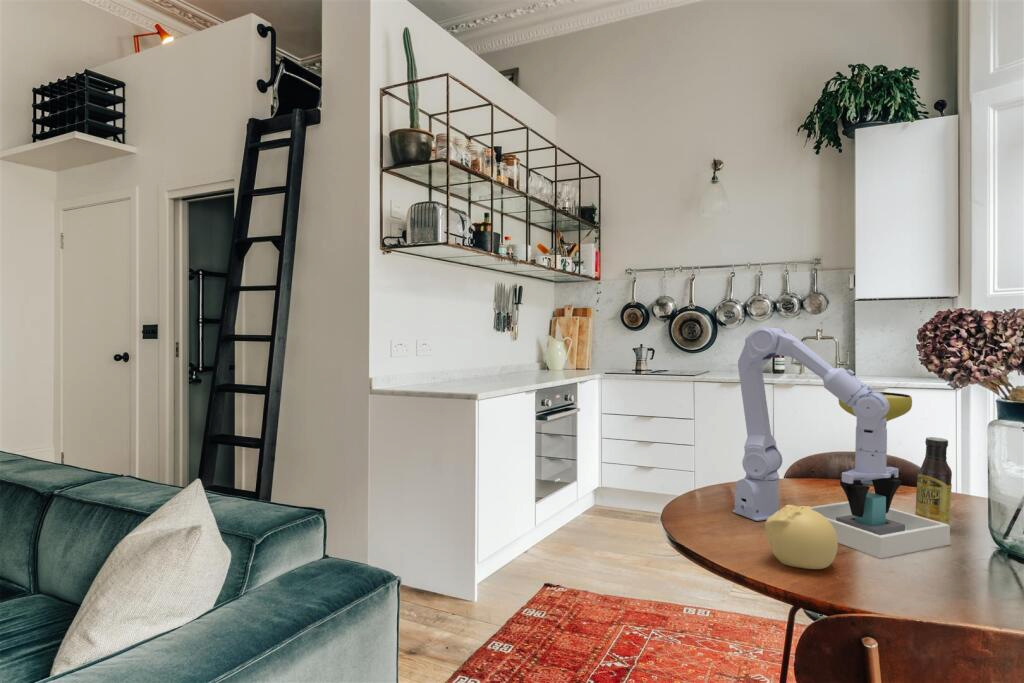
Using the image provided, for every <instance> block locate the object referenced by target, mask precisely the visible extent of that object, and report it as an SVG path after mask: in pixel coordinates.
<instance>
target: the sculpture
mask: <svg viewBox="0 0 1024 683" xmlns="http://www.w3.org/2000/svg"><path fill="white" fill-rule="evenodd" d="M811 507H812V506H811V505H806V506H805V505H801V506H800V505H799V506H797V505H794V504H786V505H784V506H783V507H781V508H779V511H777V512H775V514H774V515H772V516H770V517H769V518H768V519H767V520H765V524H764V526H765V537H766V541H767V542H768V544H769V546H770V549H771V551H772V553H773V554H774V556H775V557H776V559H777V560H778V561H779V562H780V563H781V564H783V565H786V566H789V567H795V568H800V569H808V570H823V569H826V568H828V567H829V566H830V565H831V564H832V563H833V562H834V560H835V558H836V555H837V553H838V546H839V543H838V539H837V534H836V531H835V529H834V527H833V525H832V524H831V523H830V521H829V520H828V519H827V518H826V517H824V516H823V515H822V514H820V513H818V512H816V511H814V510H812V509H811Z"/></svg>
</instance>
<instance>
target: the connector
mask: <svg viewBox="0 0 1024 683" xmlns="http://www.w3.org/2000/svg"><path fill="white" fill-rule="evenodd" d="M855 521H858V522H861V523H864V524H867V525H870V526H878V525H883V524H886V496H882V495H878V494H875V492H871V491H868V492H867V495H866V499H865V505H864V514H863V517H858V516H855Z"/></svg>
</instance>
